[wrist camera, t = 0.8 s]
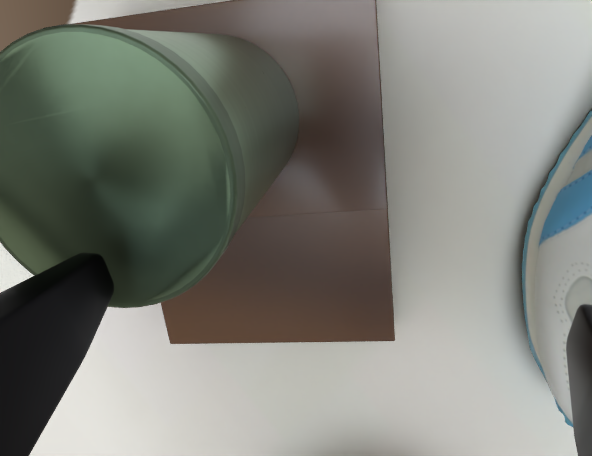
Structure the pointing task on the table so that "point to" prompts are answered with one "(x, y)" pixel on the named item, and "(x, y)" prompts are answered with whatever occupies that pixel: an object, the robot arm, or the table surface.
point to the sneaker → (559, 261)
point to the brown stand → (301, 185)
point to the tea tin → (137, 150)
